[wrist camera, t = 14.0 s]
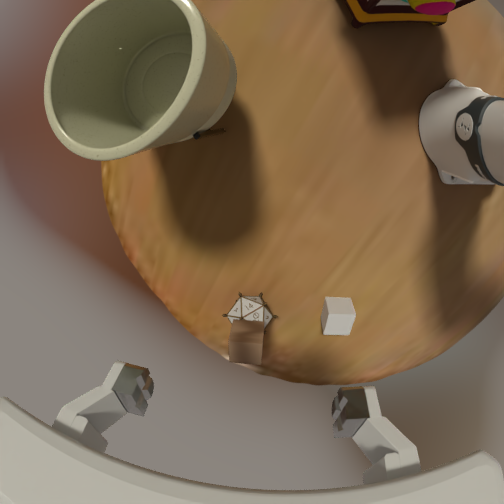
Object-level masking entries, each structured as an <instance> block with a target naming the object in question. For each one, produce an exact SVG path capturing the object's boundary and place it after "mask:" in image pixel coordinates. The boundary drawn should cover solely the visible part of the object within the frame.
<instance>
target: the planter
mask: <svg viewBox="0 0 504 504" xmlns="http://www.w3.org/2000/svg"><path fill="white" fill-rule="evenodd" d="M236 82H237V70H236V64H235V61H234V58H233V56H232V53H231V52H230V50H229V48H228V47H227V45H226V44H225V43H224V41H223V40H222V39H221V37H220V36H219V35H218V33H217V32H216V31H215V29H214V28H213V27H212V26H211V24H210V23H209V22H208V20H207V19H206V18H205V17H204V15H203V14H202V13H201V12H200V11H199V9H198V8H197V7H196V6H195V4H194V3H193V2H192V1H191V0H95V1H94V2H93V3H91V4H90V5H89V6H88V7H86V8H85V9H84V10H83V11H82V12H80V13H79V14H78V15H77V16H76V18H75V19H74V20H73V21H72V22H71V23H70V25H69V26H68V27H67V28H66V30H65V31H64V33H63V34H62V36H61V37H60V39H59V41H58V42H57V44H56V47H55V48H54V51H53V53H52V55H51V58H50V61H49V64H48V67H47V72H46V77H45V84H44V102H45V109H46V113H47V117H48V120H49V123H50V125H51V127H52V129H53V131H54V133H55V135H56V136H57V138H58V139H59V140H60V141H61V143H62V144H63V145H64V146H66V147H67V148H68V149H69V150H70V151H72V152H74V153H75V154H77V155H79V156H82V157H84V158H87V159H92V160H100V161H107V160H115V159H120V158H124V157H127V156H130V155H133V154H137V153H140V152H143V151H147V150H150V149H154V148H157V147H161V146H165V145H169V144H172V143H176V142H180V141H184V140H188V139H191V138H193V137H194V138H195V139H196V140H197V139H201V138H205V137H209V136H214V135H218V134H223V133H224V132H226V131H225V130H224V128H222V129H214V130H210V127H212V126H213V125H214V124H215V123H216V122H217V121H218V120H219V119H220V118H221V117H222V115H223V114H224V113H225V111H226V110H227V108H228V106H229V105H230V103H231V101H232V98H233V96H234V92H235V88H236Z"/></svg>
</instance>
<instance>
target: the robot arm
mask: <svg viewBox="0 0 504 504" xmlns="http://www.w3.org/2000/svg"><path fill="white" fill-rule="evenodd" d="M419 131H420V137H421V141H422V144H423V146H424V149H425V151H426V153H427V154H428V156H429V157H430V159H431V160H432V161H433V163H434V164H435V165H436V167H437V169H438V172H439V176H440V178H441V180H442V182H443V183H445V184H496V185H501V186H504V98H501V97H497V96H490V95H489V94H487V93H484V92H483V91H482V90H481V89H480V88H477V87H466V86H465V85H463V84H462V83H461V82H459V81H458V80H455V79H451V80H449V81H448V82H447V84H446V85H445V87H444V88H442V89H440V90H437V91H435V92H433V93H432V94H430V95H429V96H428V97H427V99H426V100H425V102H424V103H423V105H422V108H421V112H420V117H419ZM451 176H453V178H452V179H451ZM149 374H150V372H149V370H148V368H144V367H140V366H136V365H132V364H129V363H125V362H121V361H116V362H115V363H114V365H113V366H112V368H111V370H110V372H109V374H108V375H107V377H106V379H105V381H104V383H103V384H102V386H98V387H96V388H94V389H92V390H91V391H89V392H87V393H86V394H84V395H82V396H81V397H79V398H77V399H75V400H74V401H72V402H70V403H68V404H66V405H65V406H63V407H62V409H61V411H60V412H59V414H58V416H57V418H56V420H55V422H54V424H53V425H52V427H51V426H49V425H47V424H46V423H44V422H43V421H41V420H39V419H38V418H36V417H34V416H33V415H31V414H30V413H28V412H27V411H25V410H24V409H22V408H21V407H19V406H18V405H17V404H15V403H14V402H13V401H11V400H10V399H9V398H7V397H0V504H504V479H503V473H502V469H501V466H500V463H499V462H498V461H497V460H496V459H495V458H494V457H492V456H491V455H489V454H488V453H487V452H485V451H483V450H477V451H475V452H472V453H470V454H468V455H465V456H463V457H461V458H458V459H456V460H453V461H450V462H448V463H445V464H442V465H440V466H437V467H434V468H431V469H428V470H425V471H421V467H420V462H419V457H418V453H417V448H416V446H415V445H414V444H413V443H412V442H410V440H408V439H407V438H406V437H405V436H404V435H403V434H402V433H401V432H400V431H399V430H398V429H397V428H396V427H395V426H394V425H393V424H392V423H391V422H390V421H389V420H388V419H387V418H386V417H382V415H381V411H380V407H379V402H378V398H377V394H376V390H375V387H374V386H366V387H365V386H364V387H362V386H360V387H342V388H340V389H339V390H338V392H337V393H338V396H336V397H335V398H334V400H333V404H332V417H333V418H334V419H335V420H336V421H335V423H334V424H333V431H334V438H339V437H352V438H353V440H354V441H355V442H356V443H357V445H358V446H359V447H360V449H361V450H362V451H363V453H364V454H365V455H366V457H367V458H368V459H369V460H370V462H371V463H372V464H373V466H371V467H370V468H368V469H367V470H366V471H365V472H364V473H363V483H364V485H358V486H351V487H342V488H332V489H320V490H261V489H248V488H247V489H246V488H237V487H229V486H222V485H215V484H209V483H203V482H198V481H193V480H188V479H184V478H179V477H175V476H171V475H167V474H164V473H160V472H156V471H153V470H150V469H146V468H143V467H140V466H137V465H134V464H131V463H128V462H126V461H123V460H120V459H118V458H115V457H113V456H110V455H108V454H105V453H104V452H105V450H106V447H107V445H108V442H107V440H106V439H105V438H104V437H102V435H101V433H102V432H104V431H105V430H106V429H108V427H110V426H111V425H113V424H114V423H115V422H116V421H118V420H119V419H120V418H121V417H123V416H124V415H125V414H126V413H127V412H129V413H133V414H136V415H140V416H144V414H145V411H146V409H147V406H148V404H147V401H146V400H148V399H149V398H151V396H152V394H153V389H154V383H153V380H152V378H150V376H149Z"/></svg>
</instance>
